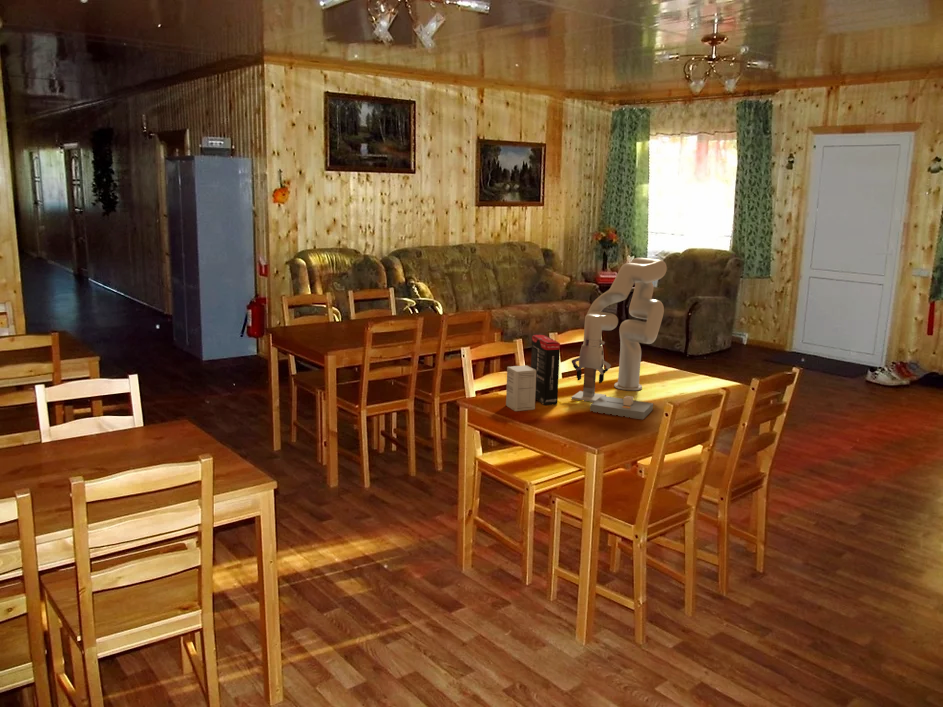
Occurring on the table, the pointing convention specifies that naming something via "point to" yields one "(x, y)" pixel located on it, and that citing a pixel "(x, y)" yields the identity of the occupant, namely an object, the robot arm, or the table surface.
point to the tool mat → (581, 397)
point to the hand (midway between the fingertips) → (589, 381)
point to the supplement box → (521, 388)
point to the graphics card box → (546, 368)
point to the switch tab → (628, 400)
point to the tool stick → (589, 382)
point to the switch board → (621, 407)
